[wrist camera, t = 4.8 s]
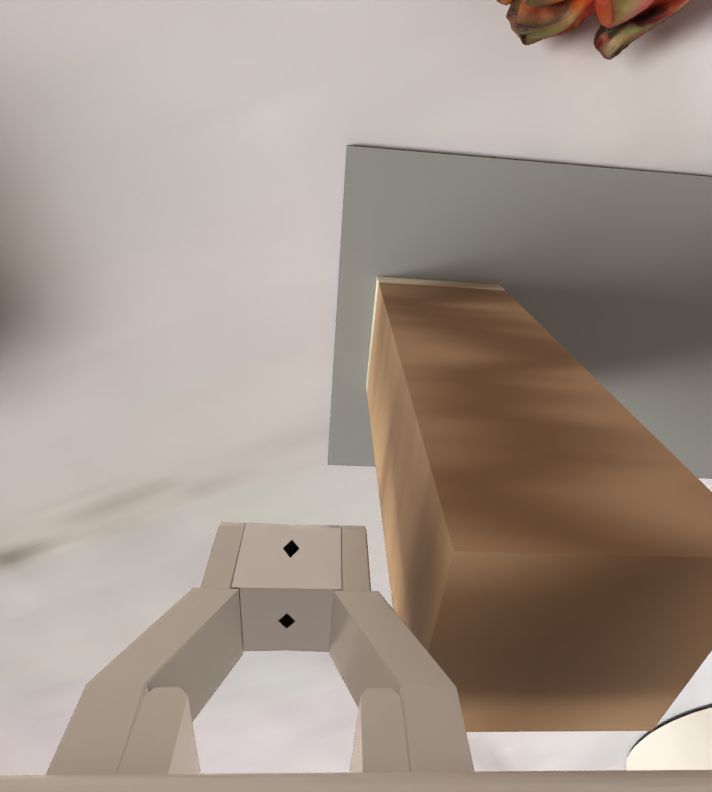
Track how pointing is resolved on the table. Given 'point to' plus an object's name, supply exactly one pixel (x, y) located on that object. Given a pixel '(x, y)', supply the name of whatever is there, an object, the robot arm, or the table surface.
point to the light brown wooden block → (530, 518)
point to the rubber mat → (540, 275)
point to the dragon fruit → (571, 3)
